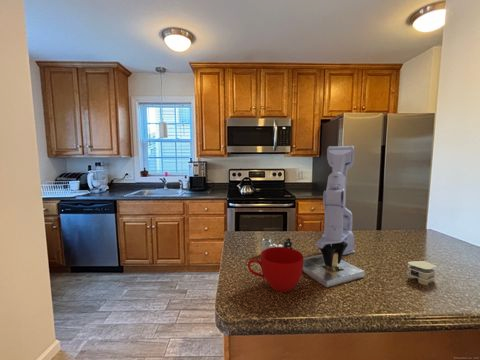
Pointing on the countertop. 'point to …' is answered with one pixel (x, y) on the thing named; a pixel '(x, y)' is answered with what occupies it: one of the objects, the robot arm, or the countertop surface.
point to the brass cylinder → (333, 264)
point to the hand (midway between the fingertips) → (332, 264)
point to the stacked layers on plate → (422, 271)
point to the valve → (267, 244)
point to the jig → (317, 271)
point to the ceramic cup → (280, 267)
